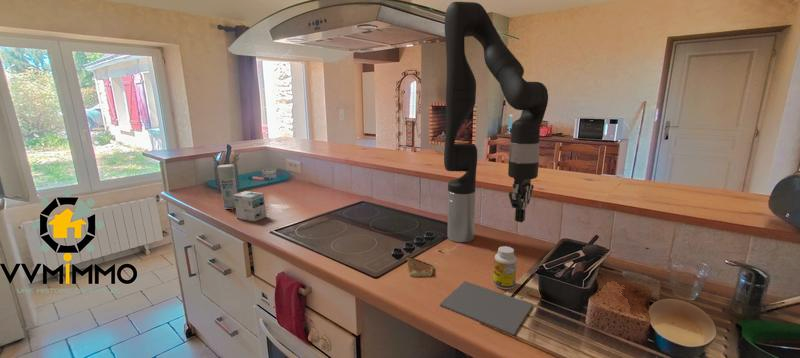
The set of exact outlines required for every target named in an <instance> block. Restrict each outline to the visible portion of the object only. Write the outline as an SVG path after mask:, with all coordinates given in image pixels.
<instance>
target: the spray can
mask: <svg viewBox="0 0 800 358" xmlns="http://www.w3.org/2000/svg"><path fill="white" fill-rule="evenodd" d="M217 172H218V177H219V184H220V190H221V191H220V192H221V197H222V204H223V208H225V209H232V210H234V209H233V208H235V201H234V194H238V188H237V180H236V175H235V174H236V173H235V167H234V164H220V165H218V166H217ZM225 209H224V210H225Z"/></svg>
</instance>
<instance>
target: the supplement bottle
mask: <svg viewBox="0 0 800 358" xmlns="http://www.w3.org/2000/svg"><path fill="white" fill-rule="evenodd" d="M517 263H518V259H517V256H516V255H515V249H514V248H512V247H511V246H506V245H505V246H499V247H498V250H497V253H496V254H495V256H494V263H493V264H494V266H493V284H494V286H495V287H497V288H498V289H501V290H512V289H513V288H514V287H515V286H516V280H517V279H516V276H517V267H518V266H517V265H518V264H517Z"/></svg>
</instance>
